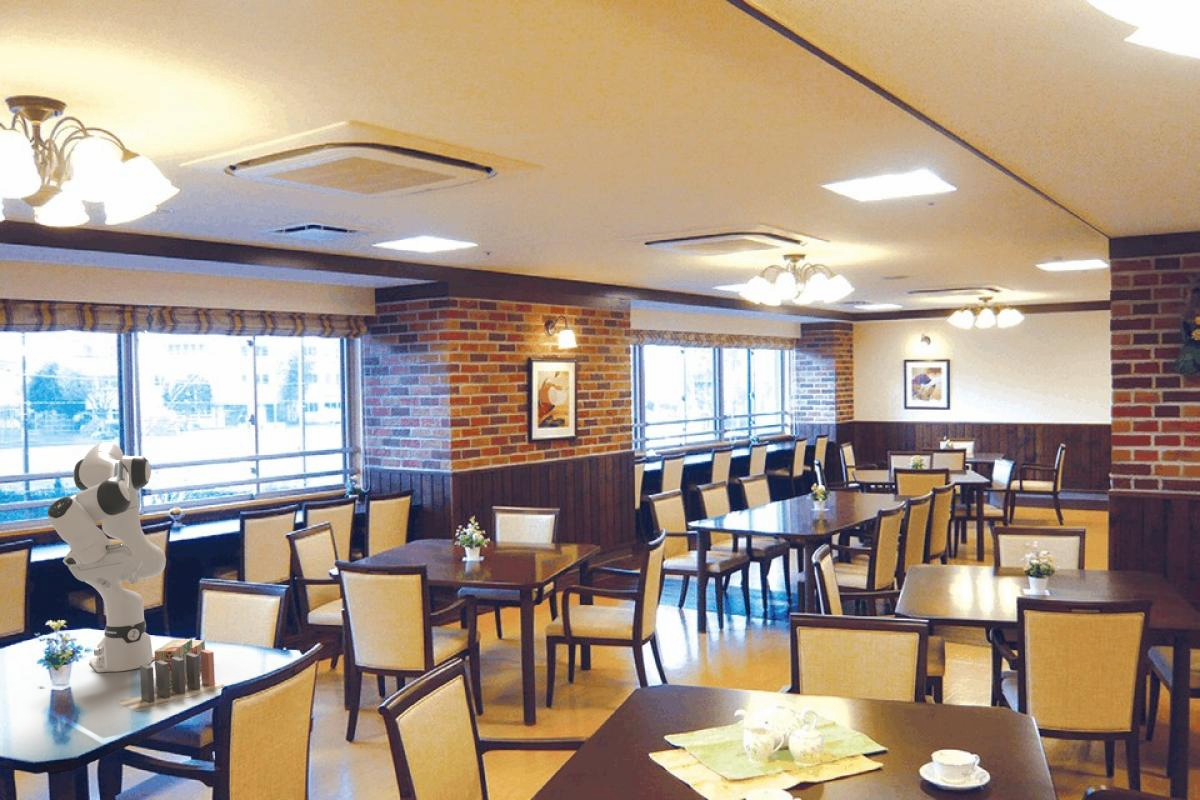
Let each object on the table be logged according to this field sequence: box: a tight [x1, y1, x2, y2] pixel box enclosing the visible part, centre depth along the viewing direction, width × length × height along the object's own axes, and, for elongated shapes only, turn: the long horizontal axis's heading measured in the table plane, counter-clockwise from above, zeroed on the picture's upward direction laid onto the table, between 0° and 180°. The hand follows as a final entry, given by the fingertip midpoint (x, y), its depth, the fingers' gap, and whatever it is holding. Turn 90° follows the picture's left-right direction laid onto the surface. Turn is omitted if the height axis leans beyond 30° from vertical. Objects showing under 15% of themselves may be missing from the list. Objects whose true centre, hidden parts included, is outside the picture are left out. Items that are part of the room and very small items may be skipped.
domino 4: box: [186, 653, 201, 690], centre depth 287 cm, size 2×5×10 cm, turn 49°
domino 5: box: [200, 648, 216, 686], centre depth 291 cm, size 2×5×10 cm, turn 49°
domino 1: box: [139, 664, 155, 703], centre depth 277 cm, size 2×5×10 cm, turn 49°
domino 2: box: [155, 660, 171, 699], centre depth 280 cm, size 2×5×10 cm, turn 49°
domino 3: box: [171, 657, 186, 695], centre depth 284 cm, size 2×5×10 cm, turn 49°
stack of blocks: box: [154, 638, 206, 687], centre depth 301 cm, size 21×6×12 cm, turn 179°
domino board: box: [117, 678, 224, 712], centre depth 282 cm, size 13×26×1 cm, turn 139°
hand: (121, 584), depth 271 cm, fingers open, 8 cm apart
